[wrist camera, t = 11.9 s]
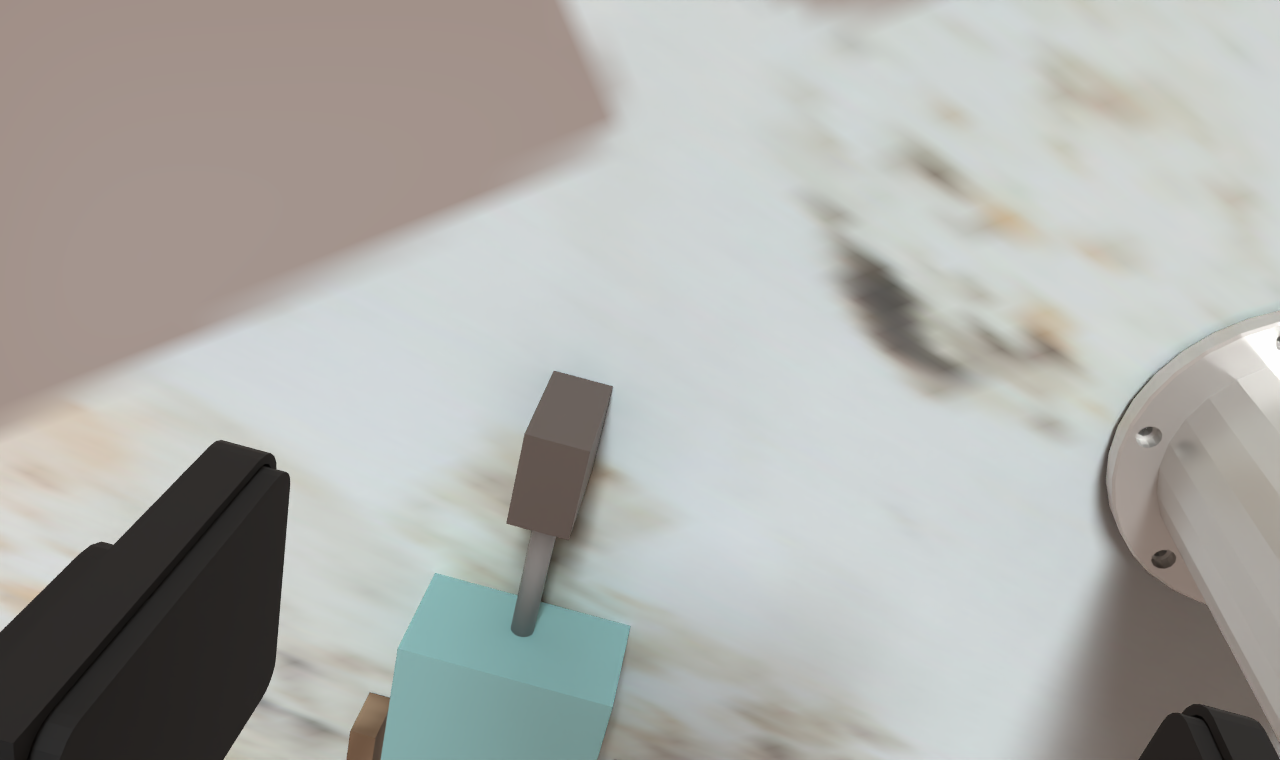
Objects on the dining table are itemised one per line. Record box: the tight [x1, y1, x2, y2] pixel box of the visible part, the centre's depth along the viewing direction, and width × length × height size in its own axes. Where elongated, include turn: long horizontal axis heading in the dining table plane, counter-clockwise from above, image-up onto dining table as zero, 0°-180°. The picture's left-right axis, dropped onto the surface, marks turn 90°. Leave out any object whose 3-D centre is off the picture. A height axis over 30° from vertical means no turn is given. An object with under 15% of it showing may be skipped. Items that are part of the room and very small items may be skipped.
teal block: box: [381, 371, 630, 760], centre depth 44 cm, size 9×18×5 cm, turn 167°
